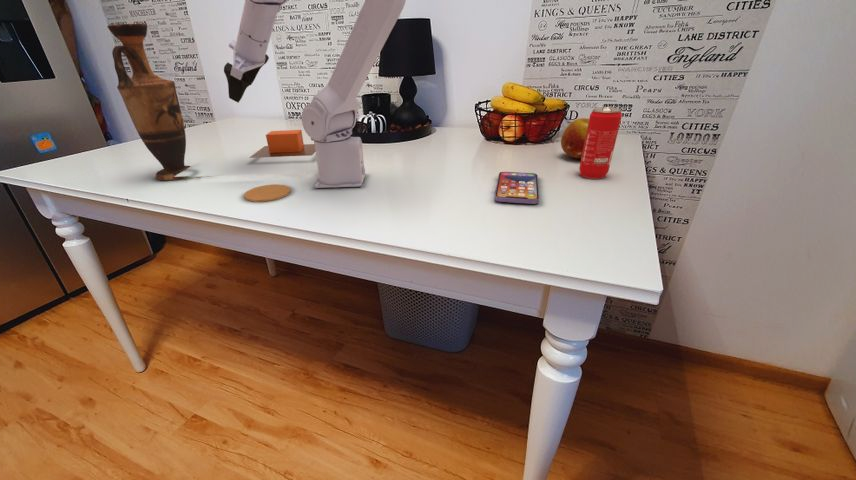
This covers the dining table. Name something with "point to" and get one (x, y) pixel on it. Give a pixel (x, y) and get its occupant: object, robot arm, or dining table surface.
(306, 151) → the bread board
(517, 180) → the smartphone
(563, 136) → the fruit
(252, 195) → the cork coaster
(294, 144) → the snack box
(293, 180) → the dining table surface
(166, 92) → the vase
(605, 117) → the beverage can
